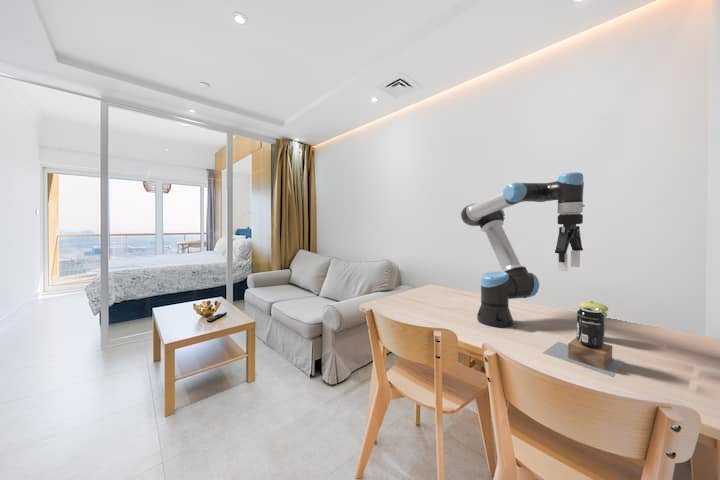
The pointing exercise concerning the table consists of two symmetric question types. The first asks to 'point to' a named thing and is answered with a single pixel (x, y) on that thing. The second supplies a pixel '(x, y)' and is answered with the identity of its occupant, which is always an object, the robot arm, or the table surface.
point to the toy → (595, 306)
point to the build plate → (561, 352)
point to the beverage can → (590, 327)
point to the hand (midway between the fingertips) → (569, 268)
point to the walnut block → (590, 354)
